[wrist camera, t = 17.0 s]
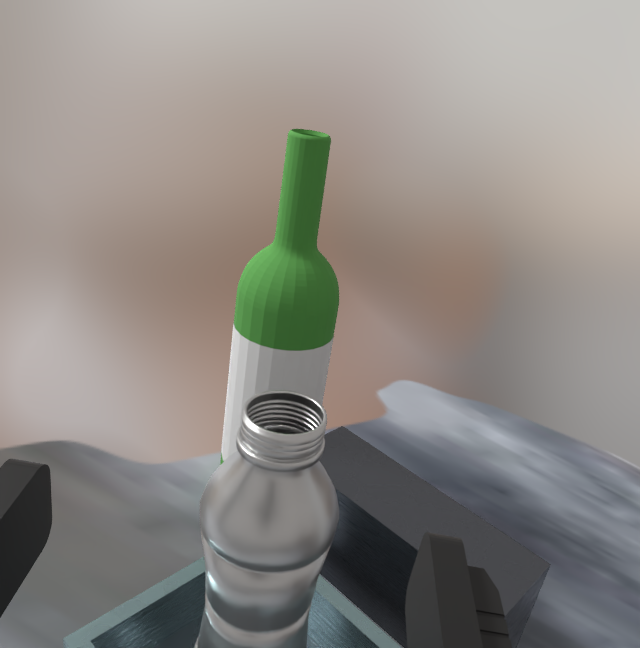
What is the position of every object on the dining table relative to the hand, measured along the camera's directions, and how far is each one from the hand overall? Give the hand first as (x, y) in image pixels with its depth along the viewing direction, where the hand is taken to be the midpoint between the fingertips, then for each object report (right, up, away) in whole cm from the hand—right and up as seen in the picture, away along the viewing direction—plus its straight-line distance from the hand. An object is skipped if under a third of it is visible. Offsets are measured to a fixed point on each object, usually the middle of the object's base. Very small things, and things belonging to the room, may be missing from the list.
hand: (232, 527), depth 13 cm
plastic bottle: (-3, -18, +22) cm, 28 cm away
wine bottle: (-3, -10, +41) cm, 42 cm away
